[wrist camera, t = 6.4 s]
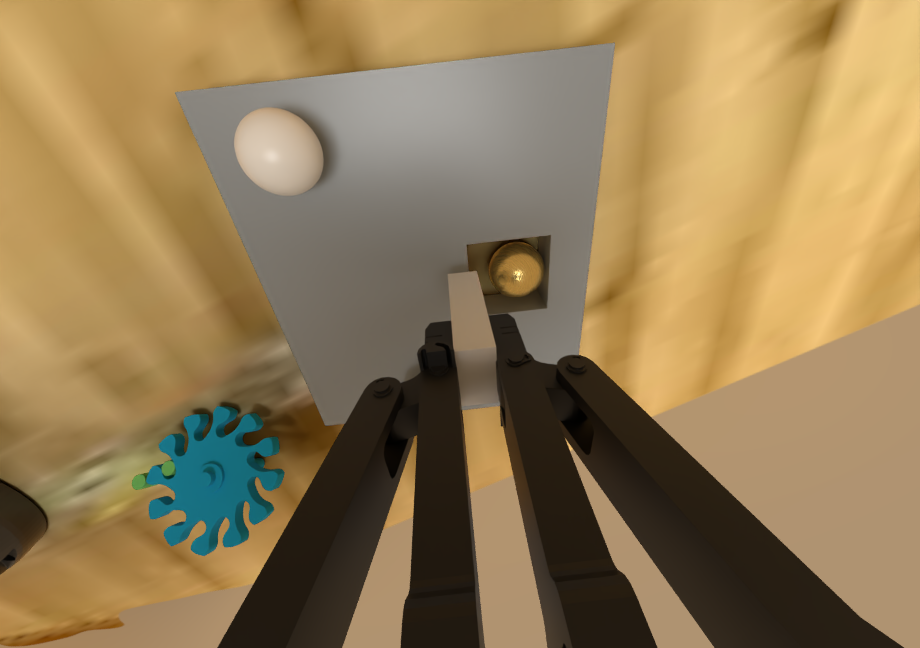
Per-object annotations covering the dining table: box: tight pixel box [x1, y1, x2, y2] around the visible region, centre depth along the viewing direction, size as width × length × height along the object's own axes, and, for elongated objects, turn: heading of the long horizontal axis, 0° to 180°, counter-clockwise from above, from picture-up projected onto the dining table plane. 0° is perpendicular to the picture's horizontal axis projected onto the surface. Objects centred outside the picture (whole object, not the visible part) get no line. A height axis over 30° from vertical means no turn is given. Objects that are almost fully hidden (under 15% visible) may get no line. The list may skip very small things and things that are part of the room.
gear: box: [132, 406, 285, 556], centre depth 27 cm, size 11×6×10 cm
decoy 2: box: [234, 107, 324, 196], centre depth 14 cm, size 3×3×3 cm
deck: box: [175, 43, 615, 426], centre depth 20 cm, size 18×20×2 cm
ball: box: [489, 242, 544, 297], centre depth 20 cm, size 3×3×3 cm
